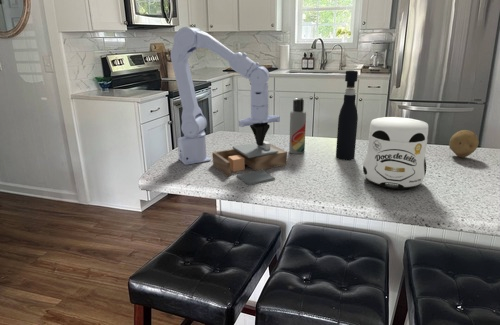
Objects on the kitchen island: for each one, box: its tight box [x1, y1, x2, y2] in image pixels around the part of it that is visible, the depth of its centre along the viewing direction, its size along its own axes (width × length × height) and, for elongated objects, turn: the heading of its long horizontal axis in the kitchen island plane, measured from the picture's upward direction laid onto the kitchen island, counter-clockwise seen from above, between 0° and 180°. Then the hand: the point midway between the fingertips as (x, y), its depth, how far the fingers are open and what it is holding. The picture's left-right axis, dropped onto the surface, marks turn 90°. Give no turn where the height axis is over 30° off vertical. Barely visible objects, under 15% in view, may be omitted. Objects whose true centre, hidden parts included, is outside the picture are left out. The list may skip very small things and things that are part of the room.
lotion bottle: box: [288, 97, 307, 155], centre depth 135 cm, size 6×6×20 cm
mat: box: [236, 169, 276, 186], centre depth 114 cm, size 9×8×1 cm
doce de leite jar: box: [362, 116, 429, 190], centre depth 107 cm, size 17×17×18 cm
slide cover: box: [232, 140, 278, 158], centre depth 125 cm, size 11×12×3 cm
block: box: [228, 155, 246, 172], centre depth 122 cm, size 4×4×4 cm
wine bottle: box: [335, 70, 359, 161], centre depth 127 cm, size 6×6×30 cm
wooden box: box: [211, 143, 288, 177], centre depth 125 cm, size 22×12×4 cm, turn 118°
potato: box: [448, 129, 480, 159], centre depth 129 cm, size 9×9×10 cm
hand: (259, 144), depth 125 cm, fingers closed
